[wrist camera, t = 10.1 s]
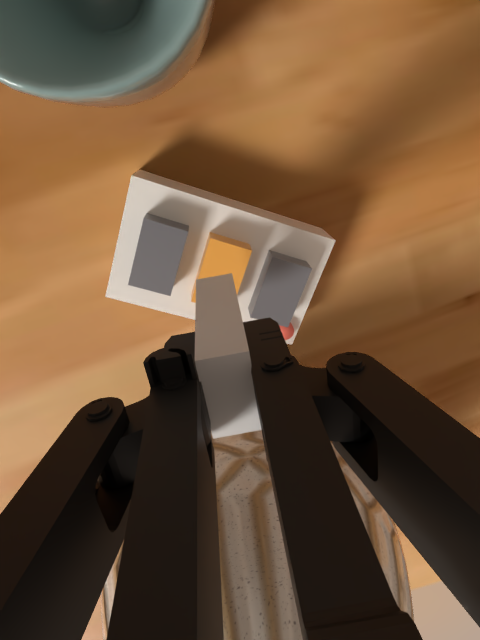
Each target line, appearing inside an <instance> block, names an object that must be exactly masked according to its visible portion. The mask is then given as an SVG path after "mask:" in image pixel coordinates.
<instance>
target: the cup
mask: <svg viewBox="0 0 480 640" xmlns="http://www.w3.org/2000/svg"><path fill="white" fill-rule="evenodd" d="M214 5H215V0H0V82H1V83H3V84H5V85H6V86H8V87H10V88H12V89H14V90H16V91H19V92H21V93H25V94H28V95H32V96H35V97H39V98H43V99H46V100H50V101H53V102H58V103H63V104H70V105H78V106H90V107H103V108H111V107H119V106H128V105H135V104H138V103H141V102H144V101H147V100H151V99H153V98H155V97H157V96H159V95H161V94H163V93H164V92H166V91H168V90H170V89H171V88H172V87H174V86H175V85H176V84H177V83H178V82H179V81H181V80H182V79H183V78H184V77H185V76H186V75H187V74H188V72H189V71H190V70H191V68H192V67H193V65H194V64H195V63H196V61H197V60H198V58H199V56H200V54H201V51H202V49H203V46H204V44H205V41H206V39H207V37H208V34H209V30H210V25H211V20H212V15H213V10H214Z"/></svg>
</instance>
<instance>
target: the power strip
mask: <svg viewBox="0 0 480 640" xmlns="http://www.w3.org/2000/svg"><path fill="white" fill-rule="evenodd" d="M335 241H336V240H335V239H333V238H332V237H331V236H330V235H329V234H328V233H327V232H325V231H324V230H323V229H322V228H320V227H316V226H313V225H310V224H307V223H304V222H301V221H298V220H295V219H292V218H289V217H286V216H282V215H279V214H276V213H273V212H270V211H267V210H264V209H261V208H258V207H255V206H251V205H248V204H245V203H242V202H239V201H236V200H233V199H230V198H227V197H224V196H221V195H217V194H214V193H211V192H208V191H205V190H202V189H199V188H196V187H193V186H190V185H186V184H183V183H180V182H177V181H174V180H171V179H168V178H165V177H162V176H159V175H156V174H152V173H149V172H146V171H143V170H140V169H139V170H138V171H137V172H135V173H134V174H133V175H132V176H131V180H130V185H129V190H128V194H127V199H126V204H125V208H124V213H123V217H122V222H121V227H120V231H119V236H118V241H117V245H116V250H115V255H114V259H113V264H112V269H111V273H110V278H109V282H108V287H107V292H106V296H105V297H108V298H112V299H116V300H120V301H124V302H128V303H132V304H135V305H139V306H143V307H147V308H151V309H155V310H159V311H163V312H166V313H170V314H174V315H178V316H182V317H186V318H190V319H194V320H195V311H196V280H197V279H202V278H208V277H214V276H219V275H225V274H230V273H232V275H233V280H234V284H235V289H236V293H237V298H238V302H239V307H240V312H241V316H242V321H243V322H247V321H252V320H258V319H263V318H269V317H270V318H272V319H273V320H275V321H276V322H278V324H279V327H280V329H281V332H282V334H283V337H284V339H285V342H286V343H287V344H291V345H292V344H293V341H294V339H295V336H296V334H297V332H298V329H299V327H300V324H301V322H302V320H303V317H304V315H305V313H306V310H307V308H308V305H309V303H310V301H311V298H312V296H313V293H314V291H315V289H316V286H317V284H318V281H319V279H320V277H321V274H322V272H323V270H324V267H325V265H326V262H327V260H328V258H329V255H330V253H331V250H332V248H333V246H334V243H335Z"/></svg>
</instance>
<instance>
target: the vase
mask: <svg viewBox="0 0 480 640" xmlns="http://www.w3.org/2000/svg"><path fill="white" fill-rule="evenodd" d="M211 439H212V443H213V447H214V455H215V474H216V494H217V514H218V533H219V553H220V572H221V592H222V611H223V631H224V640H303V638H302V633H301V628H300V623H299V618H298V613H297V608H296V603H295V598H294V593H293V588H292V583H291V578H290V573H289V567H288V562H287V557H286V552H285V547H284V542H283V537H282V532H281V527H280V522H279V517H278V512H277V507H276V502H275V497H274V492H273V487H272V482H271V477H270V472H269V467H268V462H267V459H266V453H265V447H264V441H263V436H262V430H258V431H253V432H247V433H242V434H236V435H231V436H225V437H220V438H214V439H213V437H212V432H211ZM330 442H331V444H332V447H333V449H334V452H335V454H336V457H337V459H338V462H339V464H340V467H341V469H342V471H343V474H344V476H345V479H346V481H347V484H348V486H349V489H350V491H351V494H352V496H353V498H354V501H355V503H356V506H357V508H358V511H359V513H360V516H361V518H362V521H363V523H364V525H365V528H366V530H367V533H368V535H369V538H370V540H371V543H372V545H373V548H374V550H375V552H376V555H377V557H378V560H379V562H380V565H381V567H382V570H383V572H384V575H385V577H386V580H387V582H388V584H389V587H390V589H391V592H392V594H393V597H394V599H395V601H396V603H397V605H398V607H399V608H400V610H401V611H404V612H407V613H408V614H409V615H410V617H411V618H412V620H413V621H414V614H413V605H412V596H411V590H410V583H409V577H408V571H407V566H406V562H405V557H404V553H403V549H402V545H401V541H400V538H399V535H398V532H397V529H396V527H395V524H394V521H393V520H392V518H391V517H390V516H389V515H388V513H387V512H386V511H385V510H384V509H383V507H382V506H381V505H380V504H379V502H378V501H377V500H376V499H375V497H374V496H373V495H372V494H371V493H370V491H369V490H368V489H367V488H366V486H365V485H364V484H363V483H362V481H361V480H360V479H359V478H358V476H357V475H356V474H355V473H354V472H353V470H352V469H351V468H350V467H349V465H348V464H347V463H346V462H345V460H344V459H343V458H342V457H341V455H340V454H339V453H338V452H337V451H336V449H335V447H334V445H333V443H332V441H330ZM123 543H124V541H123ZM123 543H122V545H121V548H120V550H119V552H118V555H117V557H116V559H115V562H114V564H113V566H112V569H111V571H110V573H109V576H108V578H107V580H106V583H105V585H104V587H103V590H102V592H101V616H102V630H103V640H106V639H107V633H108V628H109V622H110V616H111V611H112V605H113V599H114V594H115V588H116V582H117V577H118V571H119V565H120V560H121V554H122V548H123Z"/></svg>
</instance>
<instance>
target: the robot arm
mask: <svg viewBox="0 0 480 640" xmlns="http://www.w3.org/2000/svg"><path fill="white" fill-rule="evenodd" d="M143 363H144V367H145V370H146V373H147V377H148V380H149V383H150V387H151V389H150V395H149V396H148V397H146V398H145V399H143V400H141V401H139V402H136V403H134V404H131V405H129V406H126V407H125V406H124V404H123V401H122V400H120V399H118V398H114V397H107V398H100V399H97V400H94V401H92V402H90V403H89V404H87V405H85V406H84V407H82V408H81V409H80V410H79V411H78V412H77V413H76V415H75V416H74V417H73V419H72V420H71V421H70V423H69V424H68V425H67V427H66V428H65V429H64V431H63V432H62V433H61V435H60V436H59V437H58V439H57V440H56V441H55V443H54V444H53V445H52V447H51V448H50V449H49V451H48V452H47V453H46V455H45V456H44V457H43V459H42V460H41V461H40V463H39V464H38V465H37V467H36V468H35V469H34V470H33V472H32V473H31V474H30V476H29V477H28V478H27V480H26V481H25V482H24V484H23V485H22V486H21V488H20V489H19V490H18V492H17V493H16V494H15V496H14V497H13V498H12V500H11V501H10V502H9V504H8V505H7V506H6V508H5V509H4V510H3V512H2V513H1V514H0V640H81V639H82V636H83V634H84V632H85V629H86V627H87V625H88V622H89V620H90V618H91V615H92V613H93V611H94V608H95V606H96V604H97V601H98V599H99V597H100V594H101V592H102V590H103V587H104V585H105V583H106V580H107V578H108V576H109V573H110V571H111V569H112V566H113V564H114V562H115V559H116V557H117V555H118V552H119V550H120V548H121V545H122V543H123V541H124V543H123V548H122V554H121V560H120V565H119V571H118V577H117V582H116V588H115V594H114V599H113V605H112V611H111V616H110V622H109V628H108V633H107V639H106V640H224V631H223V611H222V592H221V572H220V553H219V533H218V514H217V494H216V474H215V455H214V447H213V443H212V439H211V432H212V437H213V439H214V438H220V437H225V436H231V435H236V434H242V433H247V432H253V431H258V430H262V436H263V441H264V447H265V453H266V459H267V462H268V467H269V472H270V477H271V482H272V487H273V492H274V497H275V502H276V507H277V512H278V517H279V522H280V527H281V532H282V537H283V542H284V547H285V552H286V557H287V562H288V567H289V573H290V578H291V583H292V588H293V593H294V598H295V603H296V608H297V613H298V618H299V623H300V628H301V633H302V638H303V640H423V639H422V637H421V635H420V633H419V631H418V629H417V627H416V625H415V623H414V621H413V620H412V618H411V617H410V615H409V614H408V613H407V612H404V611H401V610H400V608H399V607H398V605H397V603H396V601H395V599H394V597H393V594H392V592H391V589H390V587H389V584H388V582H387V580H386V577H385V575H384V572H383V570H382V567H381V565H380V562H379V560H378V557H377V555H376V552H375V550H374V548H373V545H372V543H371V540H370V538H369V535H368V533H367V530H366V528H365V525H364V523H363V521H362V518H361V516H360V513H359V511H358V508H357V506H356V503H355V501H354V498H353V496H352V494H351V491H350V489H349V486H348V484H347V481H346V479H345V476H344V474H343V471H342V469H341V467H340V464H339V462H338V459H337V457H336V454H335V452H334V449H333V447H332V444H331V442H330V441H332V443H333V445H334V447H335V449H336V451H337V452H338V453H339V454H340V455H341V457H342V458H343V459H344V460H345V462H346V463H347V464H348V465H349V467H350V468H351V469H352V470H353V472H354V473H355V474H356V475H357V476H358V478H359V479H360V480H361V481H362V483H363V484H364V485H365V486H366V488H367V489H368V490H369V491H370V493H371V494H372V495H373V496H374V497H375V499H376V500H377V501H378V502H379V504H380V505H381V506H382V507H383V509H384V510H385V511H386V512H387V513H388V515H389V516H390V517H391V518H392V520H393V521H394V522H395V523H396V525H397V526H398V527H399V528H400V530H401V531H402V532H403V533H404V534H405V536H406V537H407V538H408V539H409V541H410V542H411V543H412V544H413V546H414V547H415V548H416V549H417V551H418V552H419V553H420V554H421V555H422V557H423V558H424V559H425V560H426V562H427V563H428V564H429V565H430V567H431V568H432V569H433V570H434V571H435V573H436V574H437V575H438V576H439V578H440V579H441V580H442V581H443V583H444V584H445V585H446V586H447V588H448V589H449V590H450V591H451V592H452V594H453V595H454V596H455V597H456V599H457V600H458V601H459V602H460V604H461V605H462V606H463V607H464V609H465V610H466V611H467V612H468V613H469V615H470V616H471V617H472V618H473V620H474V621H475V622H476V623H477V624H478V626H479V627H480V438H479V437H477V436H476V435H475V434H473V433H472V432H471V431H469V430H468V429H467V428H465V427H464V426H463V425H461V424H460V423H459V422H457V421H456V420H455V419H453V418H452V417H451V416H449V415H448V414H447V413H445V412H444V411H443V410H441V409H440V408H439V407H437V406H436V405H435V404H433V403H432V402H431V401H429V400H428V399H427V398H425V397H424V396H423V395H422V394H420V393H419V392H418V391H416V390H415V389H414V388H412V387H411V386H410V385H408V384H407V383H406V382H404V381H403V380H402V379H400V378H399V377H398V376H396V375H395V374H394V373H392V372H391V371H390V370H388V369H387V368H386V367H384V366H383V365H382V364H380V363H379V362H378V361H376V360H375V359H374V358H372V357H370V356H368V355H366V354H362V353H358V352H346V353H342V354H338V355H336V356H334V357H332V358H331V359H330V360H329V361H328V362H327V366H326V368H309V367H304V366H301V365H299V363H298V361H297V360H296V358H295V357H294V356H292V355H291V354H290V352H289V349H288V347H287V344H286V342H285V339H284V337H283V334H282V332H281V329H280V327H279V324H278V322H276V321H275V320H273V319H272V318H270V317H269V318H263V319H258V320H252V321H247V322H243V321H242V316H241V312H240V307H239V302H238V298H237V293H236V289H235V284H234V280H233V275H232V273H230V274H225V275H219V276H214V277H208V278H202V279H197V280H196V311H195V332H192V333H186V334H180V335H175V336H171V337H170V339H169V340H168V341H167V342H166V343H165V346H164V348H162V349H159V350H157V351H155V352H153V353H151V354H150V355H149V356H148V357H146V359H145V361H144V362H143Z"/></svg>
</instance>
